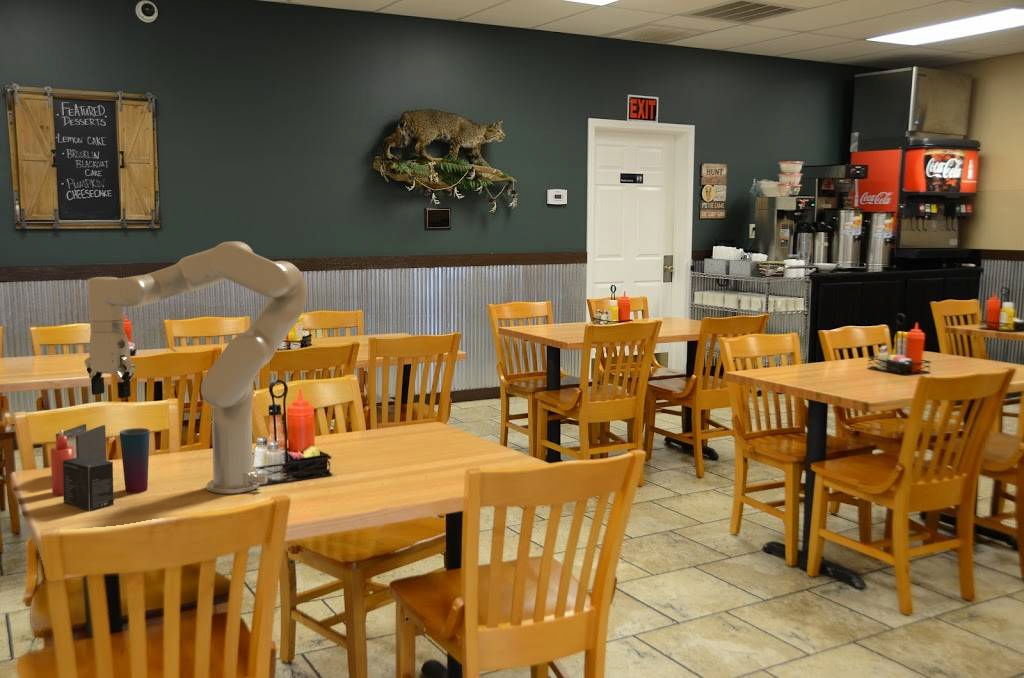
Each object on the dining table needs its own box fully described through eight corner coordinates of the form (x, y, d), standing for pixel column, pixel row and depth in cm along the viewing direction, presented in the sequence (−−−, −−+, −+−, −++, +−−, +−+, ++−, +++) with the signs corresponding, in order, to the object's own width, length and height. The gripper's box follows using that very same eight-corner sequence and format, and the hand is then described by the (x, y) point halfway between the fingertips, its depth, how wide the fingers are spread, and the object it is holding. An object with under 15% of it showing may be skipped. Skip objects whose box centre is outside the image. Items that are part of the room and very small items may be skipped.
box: (115, 504, 208) (113, 461, 206) (89, 511, 202) (87, 467, 201) (88, 496, 213) (87, 454, 212) (62, 503, 208) (60, 460, 206)
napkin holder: (106, 470, 236) (105, 425, 234) (79, 483, 224) (77, 435, 222) (85, 469, 236) (84, 424, 235) (57, 481, 225) (55, 434, 223)
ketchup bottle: (79, 490, 218) (77, 428, 216) (67, 496, 213) (64, 433, 211) (60, 489, 219) (58, 427, 217) (47, 495, 214) (45, 432, 212)
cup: (140, 495, 215) (138, 435, 213) (115, 493, 216) (113, 433, 214) (156, 487, 222) (155, 429, 220) (132, 485, 223) (130, 427, 221)
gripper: (144, 327, 216) (147, 396, 218) (97, 324, 224) (101, 390, 227) (117, 330, 210) (121, 401, 212) (70, 326, 218) (75, 395, 220)
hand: (111, 395), depth 219 cm, fingers open, 9 cm apart
